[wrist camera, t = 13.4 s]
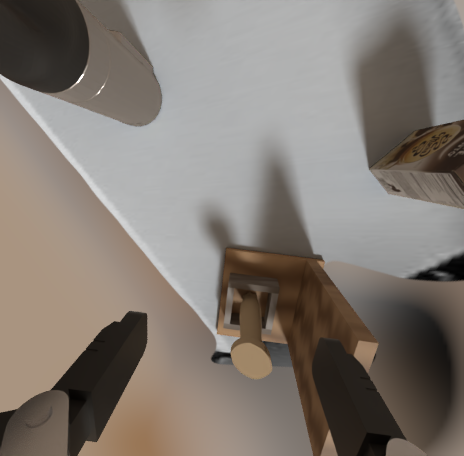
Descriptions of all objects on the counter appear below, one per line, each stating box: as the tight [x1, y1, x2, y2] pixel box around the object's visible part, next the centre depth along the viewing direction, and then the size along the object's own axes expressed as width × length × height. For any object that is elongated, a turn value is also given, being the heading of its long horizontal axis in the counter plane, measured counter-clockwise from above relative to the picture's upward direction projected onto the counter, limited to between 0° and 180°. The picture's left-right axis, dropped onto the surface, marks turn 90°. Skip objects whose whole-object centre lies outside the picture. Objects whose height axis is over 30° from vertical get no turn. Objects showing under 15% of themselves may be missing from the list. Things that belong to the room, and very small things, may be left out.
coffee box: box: [369, 120, 464, 209], centre depth 29 cm, size 9×6×16 cm
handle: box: [231, 292, 272, 379], centre depth 37 cm, size 5×6×15 cm
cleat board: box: [217, 248, 379, 456], centre depth 35 cm, size 20×19×21 cm
